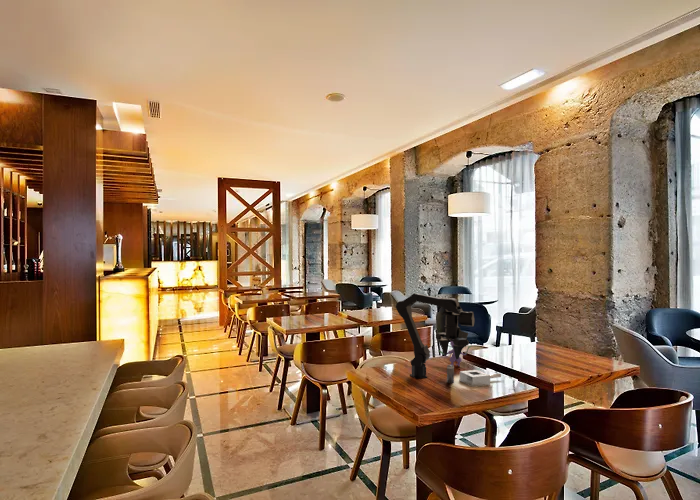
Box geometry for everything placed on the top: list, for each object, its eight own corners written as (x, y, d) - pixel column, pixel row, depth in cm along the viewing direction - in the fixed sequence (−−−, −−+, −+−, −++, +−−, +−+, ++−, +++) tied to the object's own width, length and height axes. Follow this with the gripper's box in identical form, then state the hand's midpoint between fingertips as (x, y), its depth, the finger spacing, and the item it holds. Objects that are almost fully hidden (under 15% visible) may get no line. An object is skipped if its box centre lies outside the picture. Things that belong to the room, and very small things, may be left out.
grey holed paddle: (472, 386, 185) (472, 377, 185) (459, 380, 194) (459, 371, 195) (507, 382, 192) (507, 373, 192) (493, 377, 201) (493, 368, 201)
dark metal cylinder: (449, 383, 189) (449, 366, 190) (445, 381, 192) (445, 365, 193) (455, 383, 190) (455, 366, 191) (451, 381, 194) (451, 364, 194)
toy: (470, 365, 224) (471, 338, 224) (472, 367, 218) (473, 340, 218) (437, 364, 225) (437, 337, 226) (438, 366, 220) (438, 339, 220)
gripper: (478, 327, 187) (477, 360, 187) (453, 320, 205) (453, 351, 204) (458, 328, 183) (458, 362, 183) (435, 321, 200) (434, 352, 200)
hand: (451, 356), depth 193 cm, fingers open, 9 cm apart
